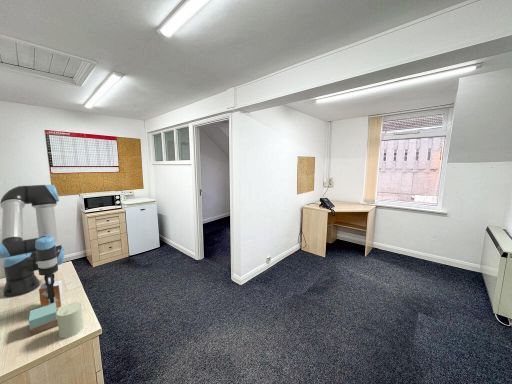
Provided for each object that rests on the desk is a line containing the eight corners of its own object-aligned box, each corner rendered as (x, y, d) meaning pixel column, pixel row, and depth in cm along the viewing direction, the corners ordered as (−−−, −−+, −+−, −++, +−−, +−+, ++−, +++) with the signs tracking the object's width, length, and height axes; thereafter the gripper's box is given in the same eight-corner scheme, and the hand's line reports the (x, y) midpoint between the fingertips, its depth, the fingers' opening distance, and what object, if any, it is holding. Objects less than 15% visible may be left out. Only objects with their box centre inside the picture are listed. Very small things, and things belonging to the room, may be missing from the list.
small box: (41, 311, 112) (38, 289, 110) (44, 304, 117) (41, 283, 116) (61, 306, 117) (59, 284, 115) (63, 300, 122) (61, 279, 120)
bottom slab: (31, 325, 104) (30, 318, 103) (58, 315, 111) (58, 308, 110) (30, 337, 97) (29, 329, 96) (59, 326, 104) (59, 318, 103)
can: (54, 340, 95) (51, 317, 93) (63, 326, 103) (61, 304, 102) (80, 334, 99) (77, 311, 97) (86, 321, 107) (84, 299, 105)
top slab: (31, 318, 103) (30, 310, 102) (56, 309, 109) (55, 302, 109) (29, 329, 97) (28, 321, 96) (56, 319, 103) (55, 312, 102)
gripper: (38, 261, 118) (43, 298, 121) (37, 275, 104) (43, 317, 107) (56, 257, 123) (60, 292, 126) (58, 270, 109) (62, 310, 113)
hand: (52, 303), depth 117 cm, fingers closed on small box, 7 cm apart
